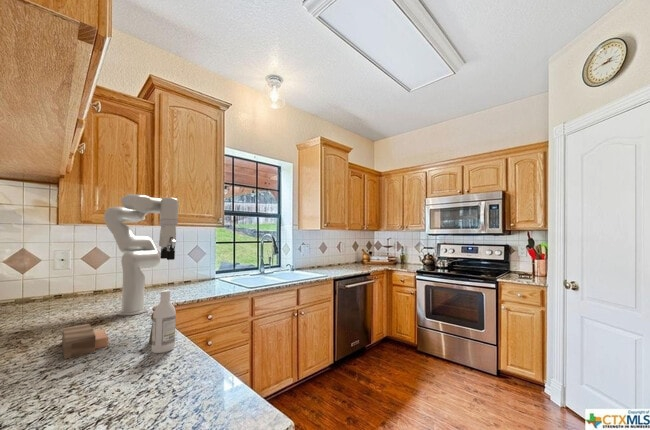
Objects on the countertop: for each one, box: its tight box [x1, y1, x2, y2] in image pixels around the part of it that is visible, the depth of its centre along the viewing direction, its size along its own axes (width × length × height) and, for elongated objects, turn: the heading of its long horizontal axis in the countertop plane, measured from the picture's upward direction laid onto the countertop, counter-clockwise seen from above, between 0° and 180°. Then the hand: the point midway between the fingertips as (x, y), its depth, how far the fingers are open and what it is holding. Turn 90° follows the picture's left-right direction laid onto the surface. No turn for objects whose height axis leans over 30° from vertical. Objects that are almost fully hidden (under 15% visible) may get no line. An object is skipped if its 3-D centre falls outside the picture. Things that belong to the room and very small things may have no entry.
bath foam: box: [151, 289, 177, 354], centre depth 97 cm, size 7×7×20 cm
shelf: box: [61, 323, 96, 359], centre depth 99 cm, size 19×8×5 cm, turn 45°
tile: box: [93, 329, 109, 350], centre depth 101 cm, size 12×10×4 cm
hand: (167, 259), depth 133 cm, fingers open, 9 cm apart
